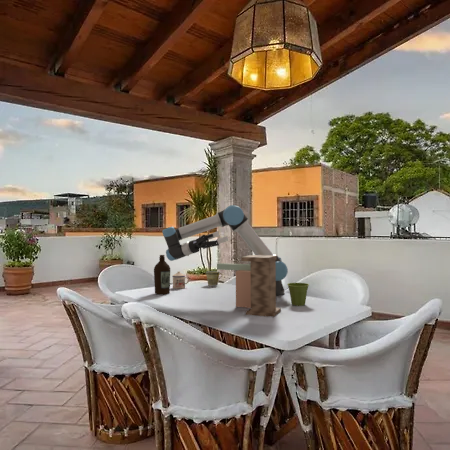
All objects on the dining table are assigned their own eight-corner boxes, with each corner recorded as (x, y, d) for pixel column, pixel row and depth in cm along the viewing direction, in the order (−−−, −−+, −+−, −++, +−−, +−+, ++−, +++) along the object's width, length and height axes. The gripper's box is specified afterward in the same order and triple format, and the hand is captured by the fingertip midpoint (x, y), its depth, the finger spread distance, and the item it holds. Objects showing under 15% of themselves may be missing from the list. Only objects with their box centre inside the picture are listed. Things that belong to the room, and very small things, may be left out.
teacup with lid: (174, 289, 262) (174, 272, 262) (170, 287, 270) (170, 271, 270) (191, 288, 267) (191, 271, 267) (186, 286, 276) (186, 270, 276)
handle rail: (216, 269, 212) (216, 262, 212) (220, 268, 218) (220, 261, 218) (260, 271, 202) (260, 263, 202) (264, 270, 208) (264, 262, 208)
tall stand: (241, 314, 185) (241, 257, 185) (250, 308, 198) (250, 255, 198) (273, 317, 179) (273, 257, 179) (280, 310, 192) (280, 255, 192)
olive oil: (150, 293, 246) (150, 255, 246) (164, 291, 253) (164, 254, 253) (160, 295, 238) (159, 255, 238) (173, 293, 245) (173, 254, 245)
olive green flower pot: (203, 286, 276) (203, 272, 277) (210, 284, 285) (210, 270, 285) (219, 287, 270) (218, 273, 270) (225, 285, 279) (225, 271, 279)
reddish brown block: (235, 306, 203) (235, 271, 204) (244, 301, 216) (244, 268, 217) (261, 308, 198) (260, 272, 198) (268, 303, 211) (268, 269, 211)
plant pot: (283, 303, 210) (283, 283, 210) (301, 302, 215) (300, 282, 215) (295, 307, 199) (295, 286, 200) (313, 305, 204) (313, 284, 204)
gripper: (201, 256, 233) (232, 245, 227) (182, 250, 211) (216, 237, 205) (198, 245, 236) (229, 234, 230) (179, 237, 213) (213, 225, 207)
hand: (223, 235), depth 217 cm, fingers open, 13 cm apart
